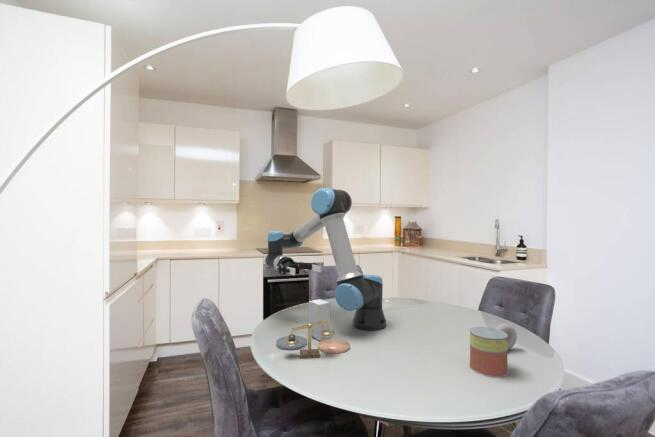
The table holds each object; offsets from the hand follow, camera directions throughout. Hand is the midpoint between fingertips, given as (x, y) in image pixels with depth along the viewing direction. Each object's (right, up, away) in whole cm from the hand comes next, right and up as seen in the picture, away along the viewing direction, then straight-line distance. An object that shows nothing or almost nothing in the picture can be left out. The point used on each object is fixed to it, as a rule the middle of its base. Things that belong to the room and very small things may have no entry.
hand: (308, 270), depth 145 cm
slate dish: (-6, -26, -15) cm, 31 cm away
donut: (+75, -27, -21) cm, 82 cm away
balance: (+2, -26, -26) cm, 37 cm away
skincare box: (+5, -27, -7) cm, 28 cm away
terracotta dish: (+11, -26, -18) cm, 34 cm away
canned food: (+61, -27, -36) cm, 76 cm away
